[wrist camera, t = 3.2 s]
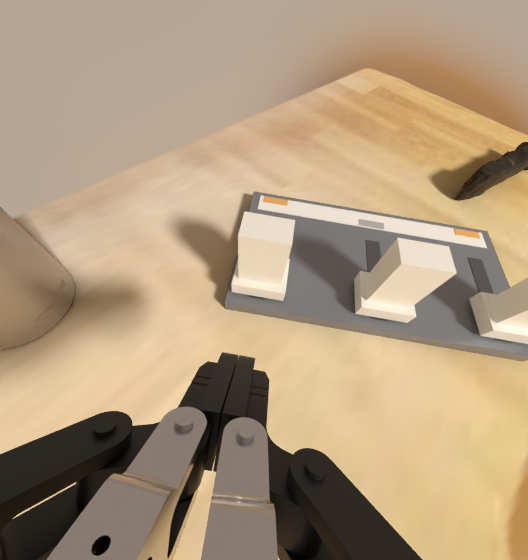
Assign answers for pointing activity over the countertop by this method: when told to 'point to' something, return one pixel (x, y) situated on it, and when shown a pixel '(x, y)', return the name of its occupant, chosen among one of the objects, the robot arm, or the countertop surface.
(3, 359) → the countertop surface
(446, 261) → the middle tab
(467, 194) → the hand tool
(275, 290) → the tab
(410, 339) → the switch bank
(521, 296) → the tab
